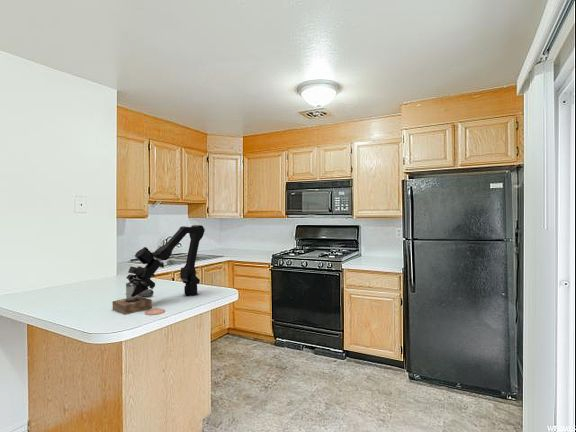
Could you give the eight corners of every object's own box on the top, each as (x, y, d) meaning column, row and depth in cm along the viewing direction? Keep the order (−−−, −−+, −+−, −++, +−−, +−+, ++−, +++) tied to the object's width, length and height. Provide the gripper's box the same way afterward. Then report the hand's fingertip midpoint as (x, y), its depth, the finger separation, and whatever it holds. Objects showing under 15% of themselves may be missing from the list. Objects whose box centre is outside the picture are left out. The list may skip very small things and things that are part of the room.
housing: (138, 303, 176) (138, 295, 176) (151, 307, 168) (151, 299, 168) (112, 309, 166) (112, 301, 166) (125, 314, 158) (125, 305, 158)
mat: (152, 308, 166) (152, 308, 166) (169, 309, 164) (169, 309, 164) (140, 314, 157) (140, 313, 157) (157, 315, 155) (157, 314, 155)
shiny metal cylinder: (138, 306, 170) (137, 281, 170) (137, 309, 166) (136, 283, 165) (127, 307, 169) (126, 282, 168) (126, 310, 164) (125, 284, 164)
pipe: (149, 298, 187) (148, 283, 187) (128, 297, 190) (128, 283, 189) (155, 295, 193) (155, 281, 193) (135, 294, 196) (135, 280, 195)
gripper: (129, 258, 176) (107, 283, 167) (148, 261, 164) (126, 288, 155) (144, 271, 182) (124, 296, 174) (164, 275, 170) (143, 302, 162)
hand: (129, 295), depth 166 cm, fingers closed on shiny metal cylinder, 5 cm apart
